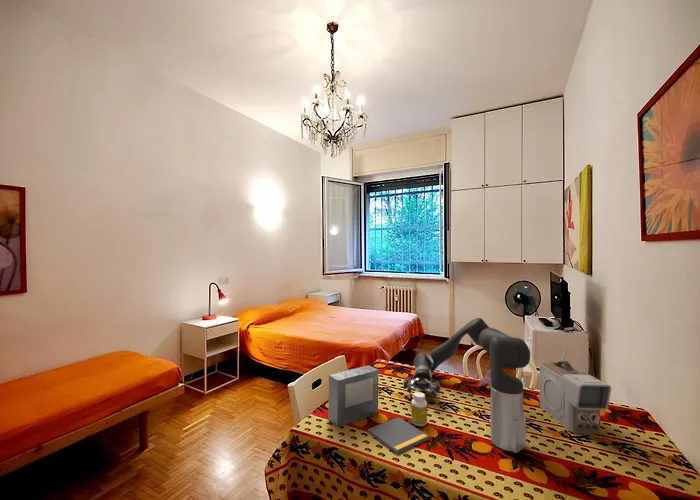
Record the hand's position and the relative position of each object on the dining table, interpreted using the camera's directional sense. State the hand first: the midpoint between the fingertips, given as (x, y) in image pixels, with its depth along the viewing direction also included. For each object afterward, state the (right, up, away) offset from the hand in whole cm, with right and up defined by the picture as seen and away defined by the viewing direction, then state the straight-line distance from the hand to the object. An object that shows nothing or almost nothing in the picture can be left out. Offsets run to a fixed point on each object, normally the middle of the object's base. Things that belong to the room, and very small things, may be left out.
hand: (420, 392), depth 122 cm
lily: (+35, -7, +18) cm, 40 cm away
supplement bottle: (-3, -6, -11) cm, 13 cm away
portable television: (+53, -7, -9) cm, 54 cm away
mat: (-12, -6, -19) cm, 23 cm away
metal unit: (-26, -6, -7) cm, 28 cm away
